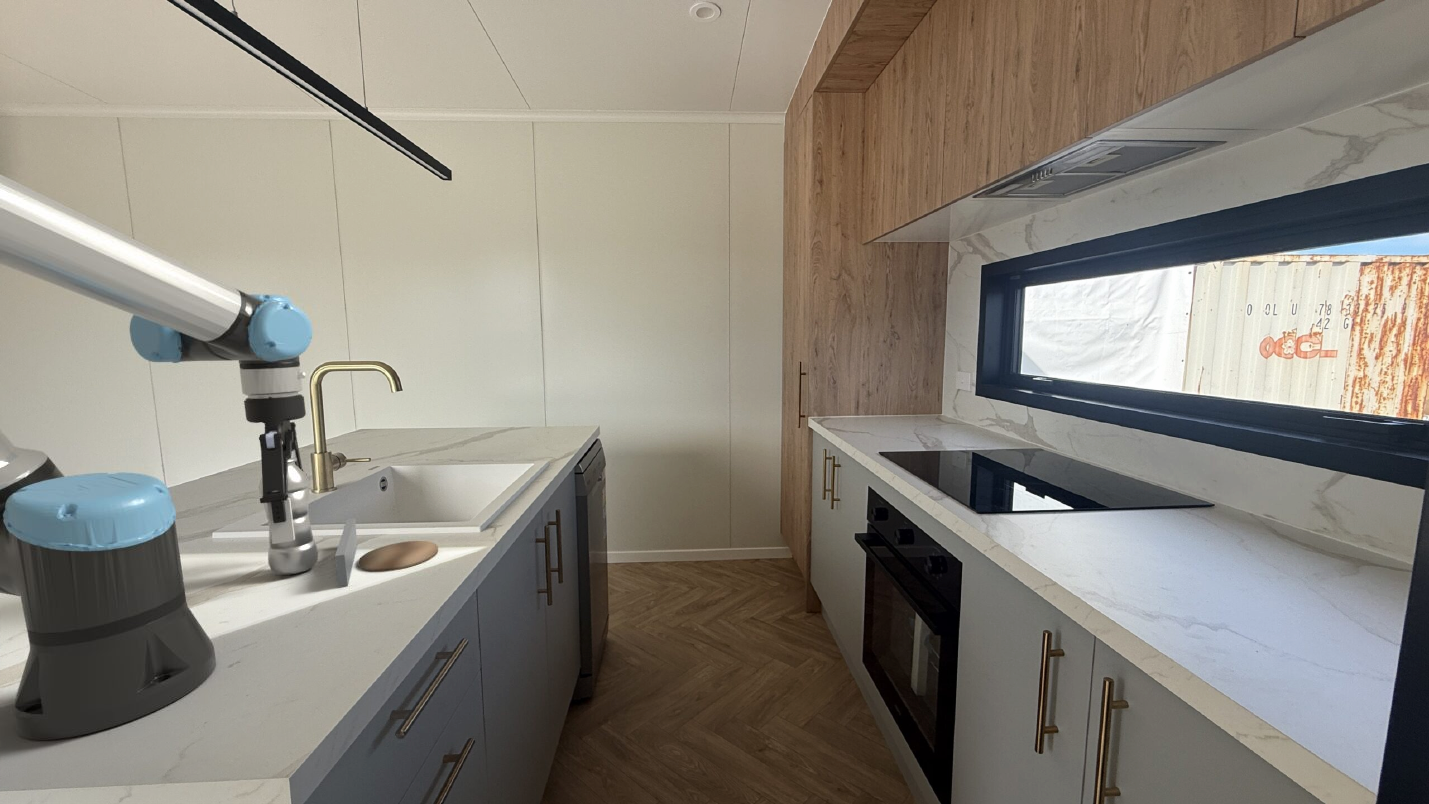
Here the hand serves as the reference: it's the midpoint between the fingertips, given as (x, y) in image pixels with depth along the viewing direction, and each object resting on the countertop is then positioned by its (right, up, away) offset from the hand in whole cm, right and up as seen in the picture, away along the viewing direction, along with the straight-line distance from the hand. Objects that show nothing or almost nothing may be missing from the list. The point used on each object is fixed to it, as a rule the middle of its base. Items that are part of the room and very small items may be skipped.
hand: (290, 530), depth 93 cm
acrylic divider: (+7, -6, +3) cm, 10 cm away
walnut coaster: (+14, -6, +6) cm, 17 cm away
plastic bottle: (0, -7, +1) cm, 7 cm away
